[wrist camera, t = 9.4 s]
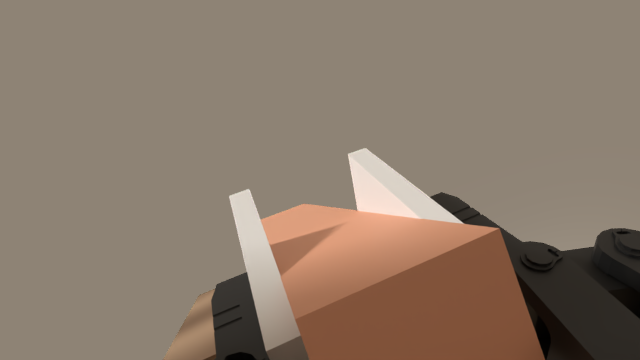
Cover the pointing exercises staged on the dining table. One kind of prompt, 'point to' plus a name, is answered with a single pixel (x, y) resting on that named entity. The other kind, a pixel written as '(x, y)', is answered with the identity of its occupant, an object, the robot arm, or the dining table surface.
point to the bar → (399, 287)
